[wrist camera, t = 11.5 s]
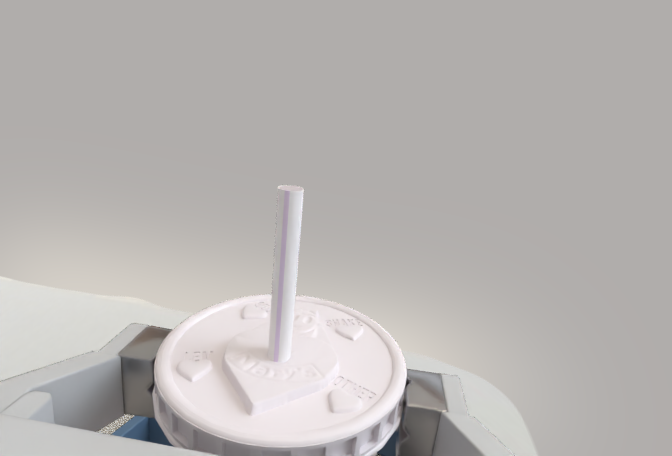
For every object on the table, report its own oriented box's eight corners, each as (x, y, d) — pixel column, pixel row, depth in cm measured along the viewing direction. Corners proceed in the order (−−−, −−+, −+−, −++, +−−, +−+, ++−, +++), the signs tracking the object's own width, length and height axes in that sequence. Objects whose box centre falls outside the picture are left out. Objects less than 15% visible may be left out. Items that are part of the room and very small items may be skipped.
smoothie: (111, 701, 11) (62, 192, 7) (219, 493, 17) (226, 150, 13) (347, 784, 10) (450, 254, 6) (374, 534, 16) (436, 178, 12)
